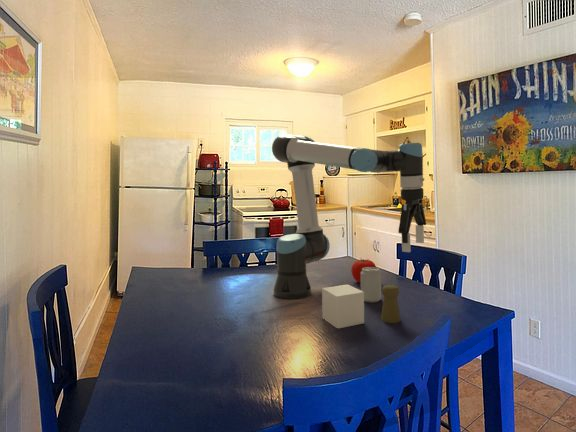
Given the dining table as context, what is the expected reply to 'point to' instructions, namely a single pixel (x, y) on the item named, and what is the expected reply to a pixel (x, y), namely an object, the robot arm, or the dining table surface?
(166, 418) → the dining table surface
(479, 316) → the dining table surface
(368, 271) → the can
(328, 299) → the cream rounded cube
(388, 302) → the cork
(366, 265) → the tomato
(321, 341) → the dining table surface
